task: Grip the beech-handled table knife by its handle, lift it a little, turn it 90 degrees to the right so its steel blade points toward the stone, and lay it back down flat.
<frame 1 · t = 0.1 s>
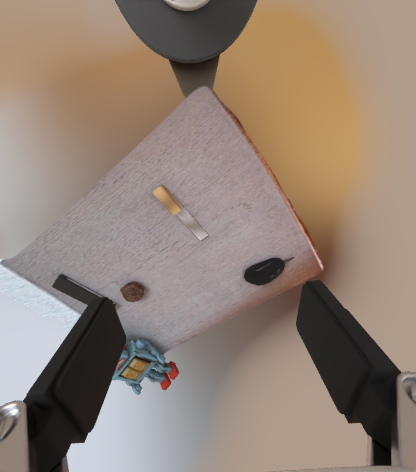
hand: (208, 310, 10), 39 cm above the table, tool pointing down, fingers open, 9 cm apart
stone: (135, 288, 59), on the table
gaming mouse: (267, 266, 57), on the table
toy robot: (168, 371, 75), point 1 cm above the table
dark grey flat bar: (89, 290, 57), point 1 cm above the table
knife: (158, 186, 46), on the table
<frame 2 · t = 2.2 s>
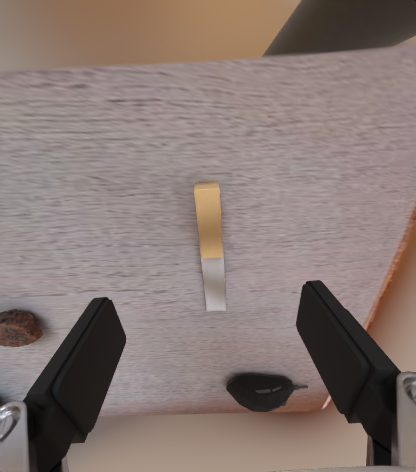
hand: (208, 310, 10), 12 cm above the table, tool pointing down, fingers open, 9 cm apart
stone: (24, 319, 27), on the table
gaming mouse: (266, 381, 35), on the table
knife: (206, 182, 19), on the table
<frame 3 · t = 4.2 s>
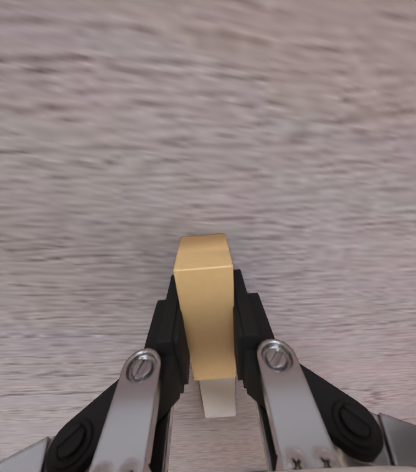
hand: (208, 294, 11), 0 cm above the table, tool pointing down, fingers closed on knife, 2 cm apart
knife: (202, 234, 10), on the table, touching gripper
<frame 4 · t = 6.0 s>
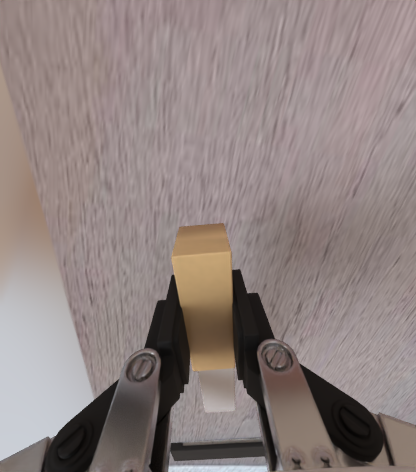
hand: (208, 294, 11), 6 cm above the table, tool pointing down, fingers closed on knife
dark grey flat bar: (222, 442, 32), on the table
knife: (201, 224, 10), point 6 cm above the table, touching gripper
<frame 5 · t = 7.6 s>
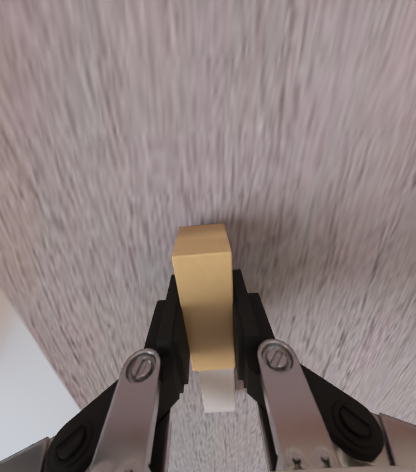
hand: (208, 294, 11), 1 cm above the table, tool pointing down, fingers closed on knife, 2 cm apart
knife: (201, 224, 10), point 1 cm above the table, touching gripper
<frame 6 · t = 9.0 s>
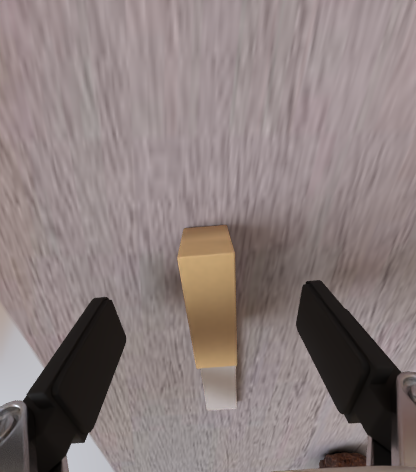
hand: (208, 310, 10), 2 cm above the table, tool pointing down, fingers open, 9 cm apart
stone: (338, 453, 23), on the table
knife: (205, 226, 10), on the table
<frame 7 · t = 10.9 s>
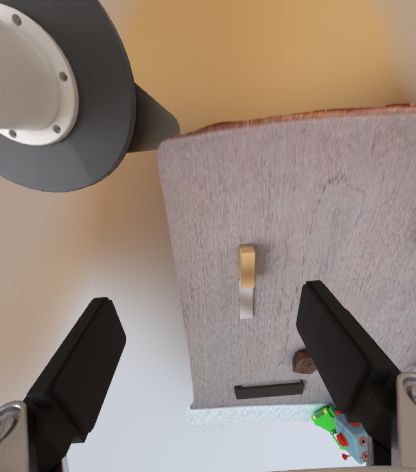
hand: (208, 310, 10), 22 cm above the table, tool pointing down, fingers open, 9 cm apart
stone: (303, 354, 46), on the table
dark grey flat bar: (268, 384, 50), on the table
toy car: (330, 412, 57), on the table
knife: (245, 244, 34), on the table
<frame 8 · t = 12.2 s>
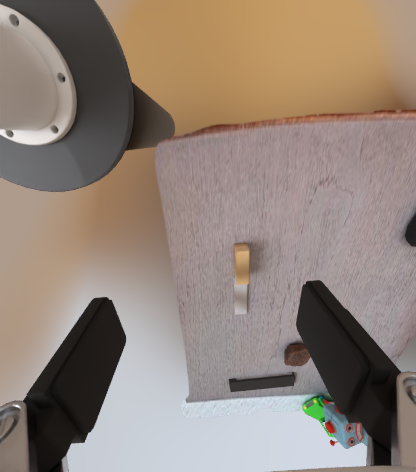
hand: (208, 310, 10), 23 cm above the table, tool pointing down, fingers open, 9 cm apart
stone: (294, 348, 48), on the table
toy robot: (413, 388, 55), point 1 cm above the table
dark grey flat bar: (261, 376, 52), on the table
toy car: (320, 402, 60), on the table
knife: (239, 243, 35), on the table
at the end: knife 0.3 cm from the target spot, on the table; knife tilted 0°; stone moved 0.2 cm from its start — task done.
